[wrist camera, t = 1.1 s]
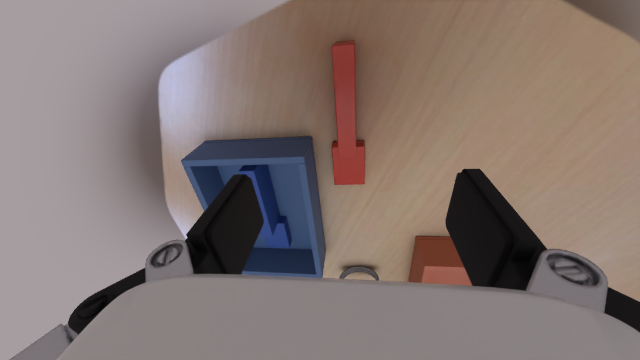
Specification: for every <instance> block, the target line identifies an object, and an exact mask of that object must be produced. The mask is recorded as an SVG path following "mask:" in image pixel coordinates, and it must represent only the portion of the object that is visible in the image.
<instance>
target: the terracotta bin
mask: <svg viewBox="0 0 640 360" xmlns="http://www.w3.org/2000/svg"><path fill="white" fill-rule="evenodd" d="M409 282H415V283H434V284H452V285H466V286H472V284H471V282H470V279H469V277H468V275H467V273H466V270H465V268H464V266H463V264H462V261H461V259H460V257H459V255H458V252H457V250H456V248H455V246H454V243H453V241H452V239H451V237H428V236H416V241H415V247H414V252H413V258H412V264H411V270H410V276H409Z"/></svg>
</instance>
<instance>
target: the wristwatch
mask: <svg viewBox="0 0 640 360" xmlns="http://www.w3.org/2000/svg"><path fill="white" fill-rule="evenodd" d="M354 272H364V273H367V274H370V275H371V276H373V277H374V278H375V280H376V281H379V277H378V275H377V273H376V272H374V271H373V270H371V269H369V268H366V267H362V266H354V267H351V268H348V269H346V270H345V271H344V272H343V273H342V274H341V275H340V279H344V278H345V277H346V276H347V275H349V274H351V273H354Z"/></svg>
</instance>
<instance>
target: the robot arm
mask: <svg viewBox="0 0 640 360" xmlns="http://www.w3.org/2000/svg"><path fill="white" fill-rule="evenodd" d="M263 224H264V218H263V215H262V211H261V208H260V205H259V202H258V198H257V195H256V192H255V189H254V185H253V182H252V179H251V178H250V177H248V176H247V175H246V174H235V175H233V176H232V177H231V178H230V180H229V181H228V182H227V184H226V185H225V186H224V187H223V189H222V190H221V191H220V192H219V194H218V195H217V196H216V198H215V199H214V200H213V201H212V203H211V204H210V205H209V206H208V208H207V209H206V210H205V212H204V213H203V214H202V215H201V217H200V218H199V219H198V220H197V222H196V223H195V224H194V226H193V227H192V228H191V229H190V231H189V232H188V233H187V234H186V235H187V237H188V238H187V239H186V240H185V242H184V241H183V240H173V241H169V242H167V243H164V244H162V245H160V246H159V247H158V248H156V249H155V250H154V251H153V252H152V253H151V254H150V255H149V256H148V258H147V259H146V264H145V268H144V269H142V270H140V271H138V272H136V273H134V274H132V275H130V276H128V277H126V278H124V279H122V280H120V281H118V282H116V283H115V284H112V285H110V286H109V287H107V288H105V289H103V290H101V291H99V292H97V293H95V294H93V295H92V296H90V297H88V298H87V299H86V300H84V301H83V302H82V303H81V304H80V305H79V306H78V307H77V308H76V309H75V310H74V312H73V313H72V314H71V316H70V318H69V321H68V324H67V325H65V326H64V325H62V324H60V325H58V326H57V327H56V328H54V329H53V330H51V331H50V332H48V333H47V334H45V335H44V336H43V337H41V338H40V339H38V340H37V341H35V342H34V343H33V344H31V345H30V346H28V347H27V348H26V349H24V350H23V351H21V352H20V353H19V354H17V355H16V356H14V357H13V358H11V359H10V360H640V302H639V301H636V300H634V299H632V298H630V297H628V296H626V295H624V294H622V293H620V292H618V291H615V290H613V289H611V288H609V287H608V281H607V277H606V275H605V274H604V273H603V271H602V270H601V269H600V268H599V267H598V266H597V265H595V264H594V263H593V262H591V261H589V260H588V259H586V258H584V257H582V256H580V255H578V254H576V253H573V252H570V251H567V250H561V249H547V248H546V247H545V246H544V245H543V243H542V242H541V241H540V239H539V238H538V237H537V236H536V235H535V234H534V232H533V231H532V230H531V229H530V228H529V226H528V225H527V224H526V223H525V222H524V221H523V219H522V218H521V217H520V216H519V215H518V213H517V212H516V211H515V210H514V209H513V207H512V206H511V205H510V204H509V203H508V202H507V200H506V199H505V198H504V197H503V196H502V194H501V193H500V192H499V191H498V190H497V189H496V187H495V186H494V185H493V184H492V183H491V181H490V180H489V179H488V178H487V177H486V176H485V174H484V173H483V172H482V171H481V170H480V169H463V170H462V172H461V173H458V174H457V176H456V180H455V184H454V188H453V192H452V196H451V200H450V204H449V208H448V212H447V216H446V227H447V230H448V232H449V234H450V237H451V239H452V241H453V243H454V246H455V248H456V250H457V252H458V255H459V257H460V259H461V261H462V264H463V266H464V268H465V270H466V273H467V275H468V277H469V279H470V282H471V284H472V286H466V285H452V284H434V283H415V282H396V281H376V280H355V279H334V278H312V277H289V276H265V275H241V274H242V271H243V269H244V267H245V265H246V262H247V260H248V258H249V256H250V253H251V251H252V249H253V247H254V244H255V242H256V240H257V238H258V236H259V233H260V231H261V229H262V227H263Z"/></svg>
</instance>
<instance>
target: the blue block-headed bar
mask: <svg viewBox="0 0 640 360" xmlns="http://www.w3.org/2000/svg"><path fill="white" fill-rule="evenodd" d="M239 174H246V175H247V176H248V177H250V178H251V179H252V182H253V185H254V189H255V192H256V195H257V198H258V202H259V205H260V208H261V211H262V215H263V218H264V224H263V227H262V229H261V231H260V233H259V235H260V236H264V239H265V242H266V245H267V247H274V248H290V245H291V242H292V238H291V234H290V230H289V225H288V221H287V217H286V216H280V212H279V208H278V204H277V200H276V196H275V192H274V188H273V184H272V180H271V176H270V172H269V168H268V164H265V165H243V166H242V168H241V169H240V170H239Z"/></svg>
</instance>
